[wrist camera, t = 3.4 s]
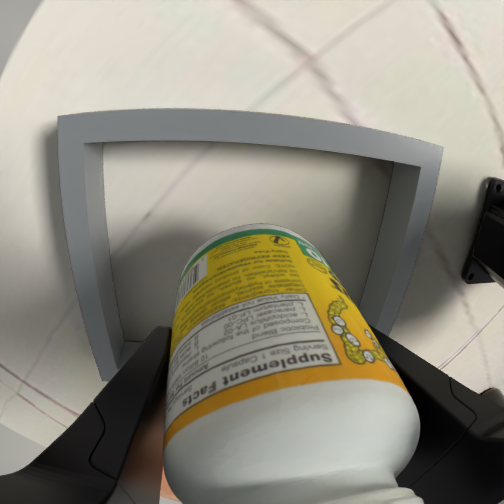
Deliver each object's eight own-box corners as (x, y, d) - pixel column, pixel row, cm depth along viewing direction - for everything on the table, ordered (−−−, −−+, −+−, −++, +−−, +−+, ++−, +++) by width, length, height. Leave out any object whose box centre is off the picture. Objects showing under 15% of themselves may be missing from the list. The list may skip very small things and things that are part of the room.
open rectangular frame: (416, 138, 12) (443, 147, 10) (358, 350, 17) (371, 374, 15) (79, 113, 10) (57, 116, 8) (110, 353, 15) (102, 380, 13)
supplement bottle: (156, 244, 10) (87, 589, 1) (316, 200, 10) (538, 483, 1) (207, 358, 12) (224, 596, 4) (333, 324, 12) (433, 544, 4)
